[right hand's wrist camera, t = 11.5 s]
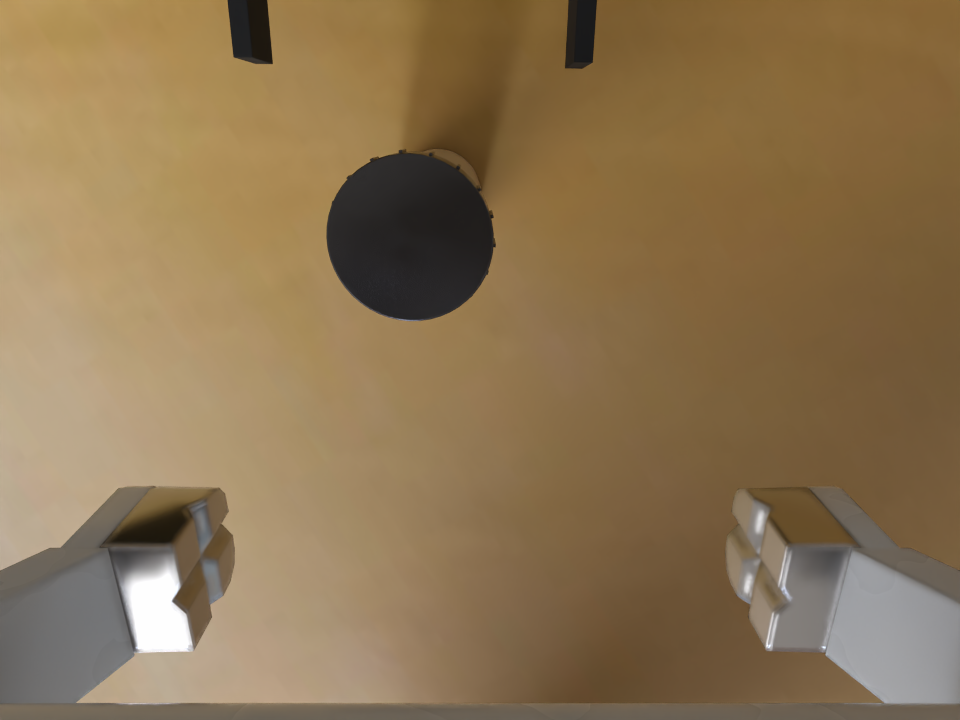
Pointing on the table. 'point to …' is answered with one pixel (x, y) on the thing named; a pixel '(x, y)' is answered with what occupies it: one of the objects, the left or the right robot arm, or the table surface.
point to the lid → (410, 235)
